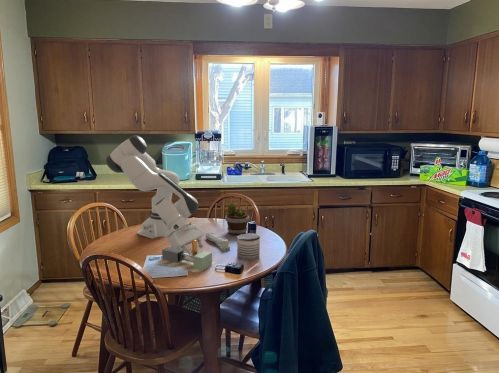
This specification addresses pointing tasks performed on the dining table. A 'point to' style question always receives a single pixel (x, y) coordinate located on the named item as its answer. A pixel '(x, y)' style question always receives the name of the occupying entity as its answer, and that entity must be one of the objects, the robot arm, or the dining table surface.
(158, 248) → the dining table surface
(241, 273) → the dining table surface
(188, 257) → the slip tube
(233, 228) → the flowerpot
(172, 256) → the dark grey rectangular block
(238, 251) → the can
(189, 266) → the base board
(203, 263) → the socket block
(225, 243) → the grey-green long bar
